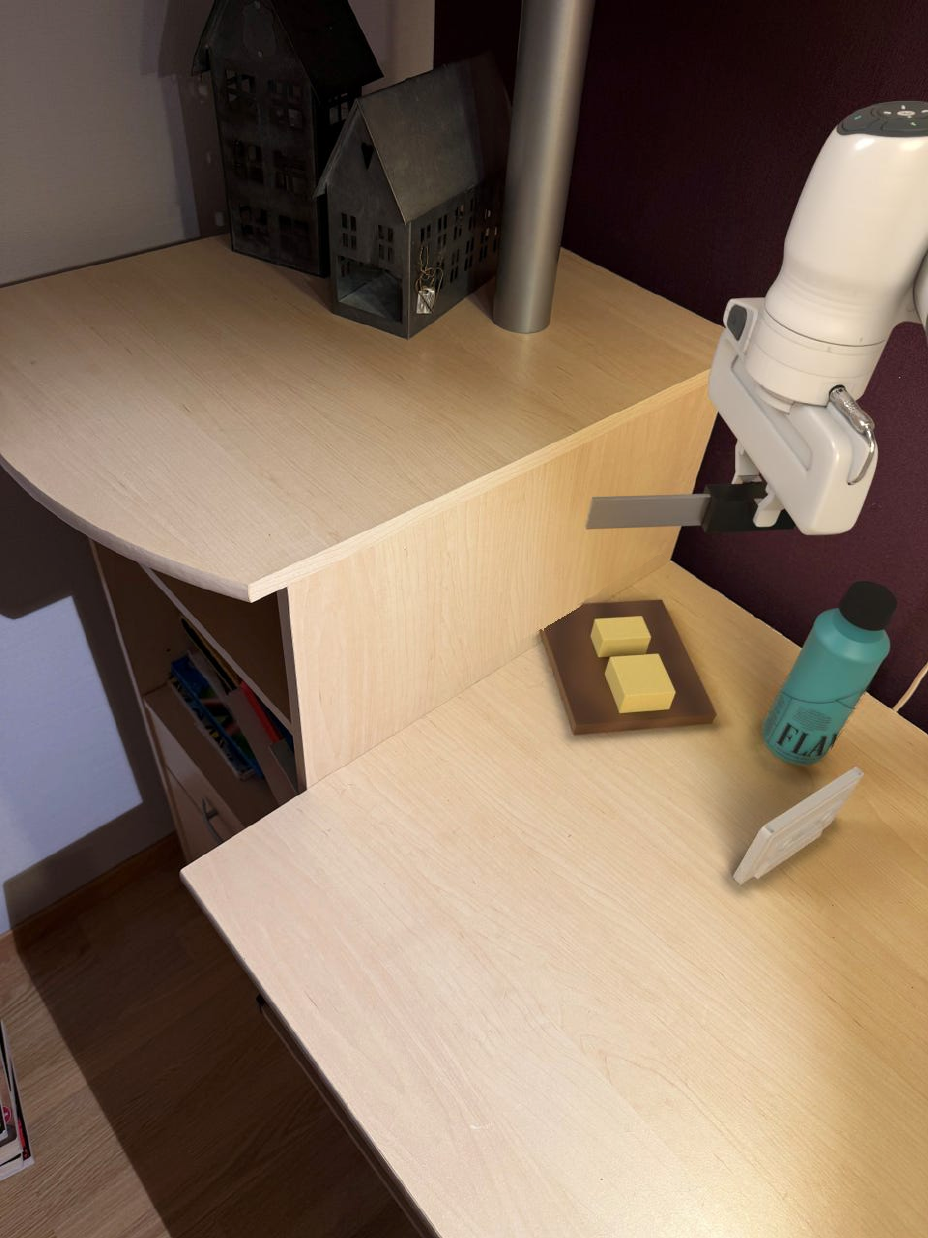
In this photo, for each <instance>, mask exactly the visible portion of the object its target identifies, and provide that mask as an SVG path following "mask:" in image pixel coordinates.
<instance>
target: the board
mask: <svg viewBox="0 0 928 1238" xmlns="http://www.w3.org/2000/svg"><path fill="white" fill-rule="evenodd" d="M582 604H583V605H581V606H580V607H579V608H577V609H576V610H574V611H572V612H571V613H569V614H567V615H566V616H564V617H562V618H561V619H558V620H557V621H555V622H554V623H552V624H550V625H548V626H547V627H546V628H544V631H543V630H542V629H540V630H539V629H538V630H539V633H540V636H541V639H542V642H543V645H544V649H545V653H546V655H547V657H548V658H547V659H548V660H549V664H550V667H551V670H552V674H553V676H554V680H555V682H556V686H557V688H558V689H557V690H558V692H559V695H560V698H561V701H562V705H563V707H564V710H565V713H566V716H567V719H568V723H569V725H570V728H571V731H572V735H573V736H581V735H591V734H592V735H593V734H605V733H617V732H628V731H629V732H630V731H640V730H641V731H642V730H653V729H665V728H676V727H677V728H678V727H689V726H690V727H691V726H700V725H712V724H713V723H714V721H715V719H716V716H717V711H716V710H715V707H714V705H713V703H712V701H711V700H710V697H709V695H708V693H707V691H706V689H705V687H704V685H703V682H702V680H701V678H700V675H699V674H698V672H697V670H696V668H695V666H694V664H693V662H692V659H691V656H690V655H689V653H688V651H687V649H686V646H685V645H684V642H683V640H682V638H681V636H680V634H679V632H678V630H677V627H676V626H675V624H674V621H673V619H672V617H671V615H670V613H669V611H668V609H667V606H666V605H665V603H664V600H663V599H647V600H646V599H645V600H627V601H611V602H609V601H608V602H593V603H592V602H590V603H589V602H588V603H582ZM637 616H642V618H643V620H644V622H645V624H646V627H647V629H648V631H649V633H650V636H651V639H650V642H649V645H648V648H647V651H646V654H659V656H660V658H661V660H662V663H663V665H664V667H665V669H666V672H667V674H668V676H669V678H670V681H671V683H672V685H673V687H674V690H675V692H676V693H675V695H674V698H673V700H672V703H671V706H670V708H669V709H665V710H653V711H640V712H627V713H619V710H618V708H617V705H616V702H615V700H614V697H613V694H612V692H611V689H610V687H609V684H608V681H607V679H606V676H605V672H606V668H607V665H608V662H609V658H610V657H615V656H610V657H598V655H597V652H596V650H595V647H594V644H593V642H592V639H591V632H592V628H593V625H594V621H595V619H602V618H619V617H637ZM640 655H645V654H640ZM625 656H630V655H625Z"/></svg>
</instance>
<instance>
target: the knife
mask: <svg viewBox="0 0 928 1238" xmlns="http://www.w3.org/2000/svg"><path fill="white" fill-rule="evenodd" d="M767 484H768V483H767V482H762V483H746V484H732V483H718V484H717V483H712V484H711V483H710V484H709V483H708V484H705V486H704V490H703V493H687V494H654V495H653V494H652V495H650V494H648V495H619V496H616V495H615V496H614V495H613V496H592V497H591V499H590V504H589V509H588V512H587V517H586V521H585V524H584V528H585V529H586V530H611V529H636V528H639V529H640V528H641V529H642V528H665V527H670V528H671V527H695V526H696V527H697V526H701V528H702V529H703V531H704V532H705V533H706V534H708V533H709V534H712V533H715V534H716V533H735V532H737V533H739V532H765V531H791V530H792V531H793V530H795V528H796V527H797V525H796V524H795V522H794V521H793V519H792V518H791V516H790V515H789V514H788V512H787V511H786V509H785V508H784V509H783V510H781V511H780V514H779V516H778V518H777V521H776V523H775V524H774V525H772V526H770V527H757V526H756V525H755V523H754V522H753V520H752V519H751V517H750V515H749V511H750V509H751V506H752V504H753V500H754V499H764V498H765V497H766V496H768V494H767V492H766V486H767Z"/></svg>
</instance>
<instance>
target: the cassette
mask: <svg viewBox="0 0 928 1238" xmlns="http://www.w3.org/2000/svg"><path fill="white" fill-rule="evenodd" d="M864 776H865V772H864V771H863V770H861V769H860V768H859V767H858V766H857V765H855V766H854V767H853V768H850V769H849V770H848V771H846V772H845V773H843V774H842V775H840V776H838V777H837V778H835V779H834V780H832V781H831V782H829V783H827V784H826V785H824V786H822V787H821V788H819V790H816V791H815V792H813V793H812V794H810V795H809V796H807V797H806V798H804V799H803V800H801V801H799V802H798V803H797V804H795V805H793V806H792V807H790V808H789V809H787V810H786V811H784V812H782V813H781V814H779V815H778V816H777V817H775V818H773V819H772V820H770V821H768V822H767V823H765V824H764V825H762V826H761V828H759V830H758V832H757V834H756V836H755V838H754V839H753V841H752V843H751V844H750V846H749V848H748V849H747V850H746V853H745V855H744V856H743V858H742V860H741V862H740V863H739V864H738V867H737V868H736V870H735V872H734V873H733V876H732V878H733V880H735V882H737V883H738V885H740V886H742V885H743V884H744V883H746V882H747V881H749V880H751V879H752V878H755V879H757V880H759V879H760V878H762V877H763V876H765V875H766V874H768V873H769V872H770V871H772V870H773V869H775V868H776V867H778V866H779V865H781V864H782V863H784V862H785V861H786V860H788V859H789V858H790V857H792V856H793V855H795V854H796V853H798V852H799V851H801V850H802V849H804V848H805V847H807V846H808V845H810V844H811V843H813V842H814V841H816V840H817V839H818V838H820V837H821V835H822V834H823V830H825V829H826V828H827V827H828V826H830V825H832V823H833V822H834V820H835V819H836V817H837V815H838V814H839V812H840V811H841V810H842V808H843V806H844V805H845V804H846V802H847V801H848V799H849V798H850V796H851V795H852V793H853V792H854V790H855V788H856V787H857V785H858V784H859V783H860V781H861V780H862V778H863V777H864Z"/></svg>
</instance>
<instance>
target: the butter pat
mask: <svg viewBox="0 0 928 1238" xmlns="http://www.w3.org/2000/svg"><path fill="white" fill-rule="evenodd" d="M591 639H592V642H593V644H594V647H595V650H596V652H597V655H598V657H610V656H625V655H640V654H646V651H647V648H648V645H649V642H650V639H651V636H650V633H649V631H648V629H647V627H646V624H645V622H644V620H643V618H642V616H637V617H619V618H602V619H595V621H594V625H593V628H592V632H591Z"/></svg>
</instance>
